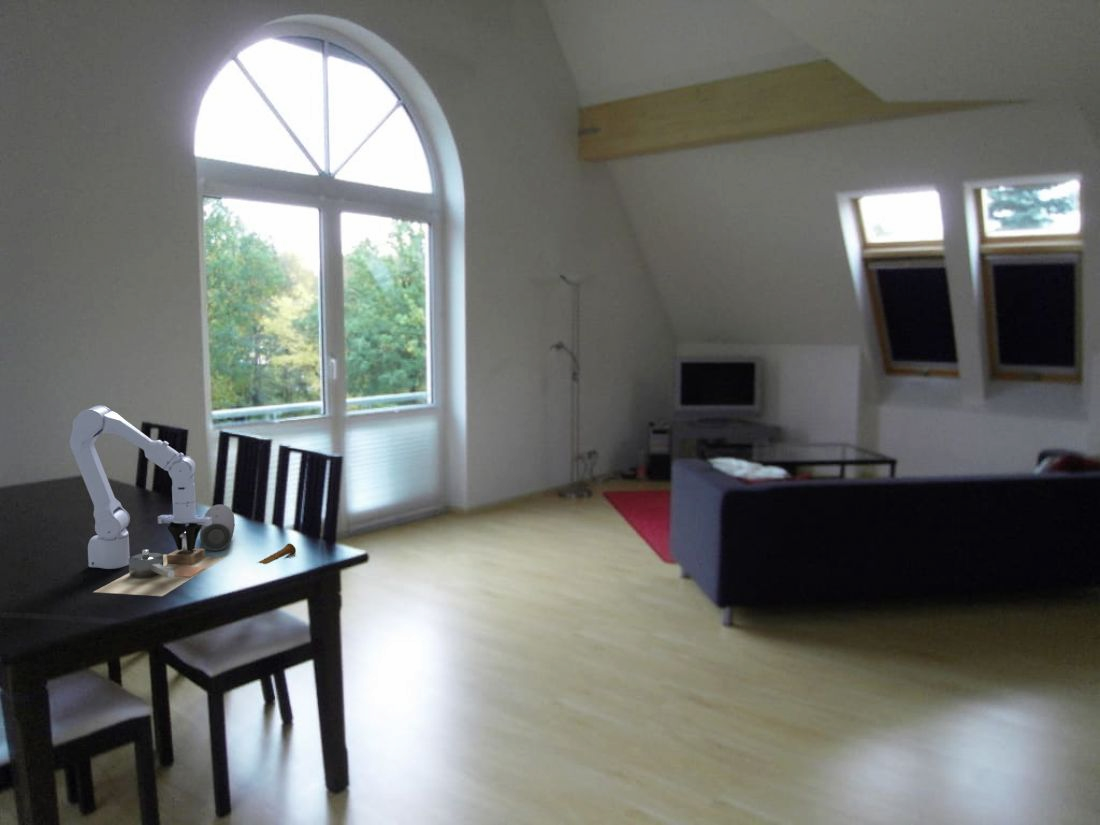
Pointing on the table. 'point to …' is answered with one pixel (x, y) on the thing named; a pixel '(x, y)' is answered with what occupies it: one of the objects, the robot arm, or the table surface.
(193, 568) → the tile
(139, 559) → the grey cylinder with handle
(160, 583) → the board
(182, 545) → the key peg
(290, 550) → the primitive tool
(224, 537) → the bluetooth speaker
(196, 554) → the socket block
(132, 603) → the table surface
